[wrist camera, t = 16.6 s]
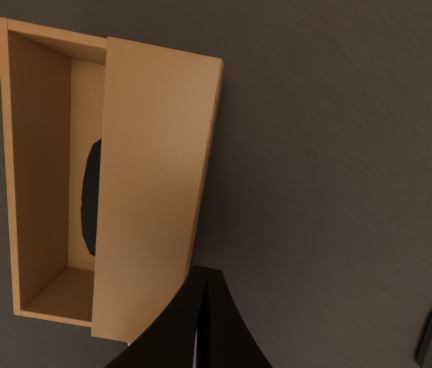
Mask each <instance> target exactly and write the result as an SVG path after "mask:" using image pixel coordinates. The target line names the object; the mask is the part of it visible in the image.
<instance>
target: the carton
mask: <svg viewBox="0 0 432 368" xmlns="http://www.w3.org/2000/svg"><path fill="white" fill-rule="evenodd" d="M106 50H107V39H106V38H101V37H97V36H92V35H87V34H82V33H77V32H72V31H67V30H62V29H57V28H52V27H47V26H42V25H37V24H32V23H27V22H22V21H17V20H12V19H7V18H2V17H0V76H1V94H2V112H3V129H4V147H5V165H6V183H7V200H8V218H9V236H10V253H11V271H12V289H13V306H14V315H21V316H26V317H32V318H38V319H44V320H50V321H56V322H62V323H68V324H74V325H80V326H86V327H92V309H93V290H94V272H95V257H94V256H93V255H91V254H90V253H89V251H88V248H87V246H86V243H85V241H84V238H83V237H82V232H81V213H80V207H81V205H82V201H81V194H82V184H83V178H84V174H85V168H86V163H87V158H88V155H89V153H90V150H91V148H92V145H93V143H95V142H97V141H98V140H100V139H101V138H102V124H103V106H104V87H105V69H106ZM223 68H224V62H222V66H221V71H220V77H219V83H218V88H217V94H216V100H215V105H214V111H213V117H212V123H211V128H210V134H209V140H208V145H207V151H206V157H205V162H204V168H203V174H202V180H201V185H200V191H199V197H198V202H197V208H196V214H195V220H194V225H193V231H192V237H191V242H190V248H189V254H188V259H187V265H186V271H185V277H184V281H185V279H186V278H187V276H188V274H189V268H190V262H191V257H192V251H193V246H194V240H195V235H196V229H197V224H198V218H199V212H200V207H201V201H202V196H203V190H204V185H205V179H206V174H207V168H208V162H209V157H210V151H211V146H212V140H213V135H214V129H215V124H216V118H217V112H218V107H219V101H220V96H221V90H222V85H223ZM183 283H184V282H183Z"/></svg>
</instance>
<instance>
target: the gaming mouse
mask: <svg viewBox="0 0 432 368" xmlns="http://www.w3.org/2000/svg"><path fill="white" fill-rule="evenodd" d="M101 143H102V138H101V139H100V140H98V141H97V142H95V143H93V145H92V148H91V150H90V153H89V155H88V158H87V163H86V168H85V174H84V178H83V184H82V194H81V201H82V205H81V207H80V213H81V232H82V237H83V238H84V241H85V243H86V246H87V248H88V251H89V253H90V254H91V255H93V256H94V257H95V254H96V235H97V217H98V198H99V180H100V161H101Z"/></svg>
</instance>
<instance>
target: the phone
mask: <svg viewBox="0 0 432 368" xmlns="http://www.w3.org/2000/svg"><path fill="white" fill-rule="evenodd" d="M417 364H418V365H419V366H420V367H421V368H432V317H431V320H430V322H429V325H428V328H427V331H426V334H425V337H424V339H423V342H422V345H421V348H420V351H419V354H418V357H417Z"/></svg>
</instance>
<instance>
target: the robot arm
mask: <svg viewBox="0 0 432 368" xmlns="http://www.w3.org/2000/svg"><path fill="white" fill-rule="evenodd" d="M104 368H273V367H272V366H271V364H270V363H269V362H268V360H267V359H266V357H265V356H264V354H263V353H262V351H261V350H260V348H259V347H258V345H257V343H256V342H255V340H254V339H253V337H252V335H251V334H250V332H249V330H248V328H247V327H246V325H245V323H244V321H243V319H242V317H241V315H240V313H239V311H238V309H237V307H236V305H235V303H234V301H233V299H232V296H231V294H230V292H229V289H228V287H227V284H226V281H225V278H224V275H223V272H222V271H221V270H218V269H212V268H206V267H200V266H192V267H191V269H190V272H189V274H188V276H187V278H186V279H185V281H184V283H183V284H182V286H181V287H180V289H179V290H178V291H177V293H176V294H175V296H174V297H173V299H172V300H171V301H170V302H169V304H168V305H167V306H166V307H165V309H164V310H163V311H162V312H161V313H160V315H159V316H158V317H157V318H156V319H155V320H154V321H153V322H152V324H151V325H150V326H149V327H148V328H147V329H146V330H145V331H144V332H143V333H142V334H141V335H140V336H139V337H138V338H137V339H136V340H135V341H134V342H133V343H129V342H128V347H127V348H126V349H125V350H124V351H123V352H122V353H121V354H119V355H118V356H117V357H116V358H115V359H113V360H112V361H111V362H110V363H109V364H107V365H106V366H105V367H104Z"/></svg>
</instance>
